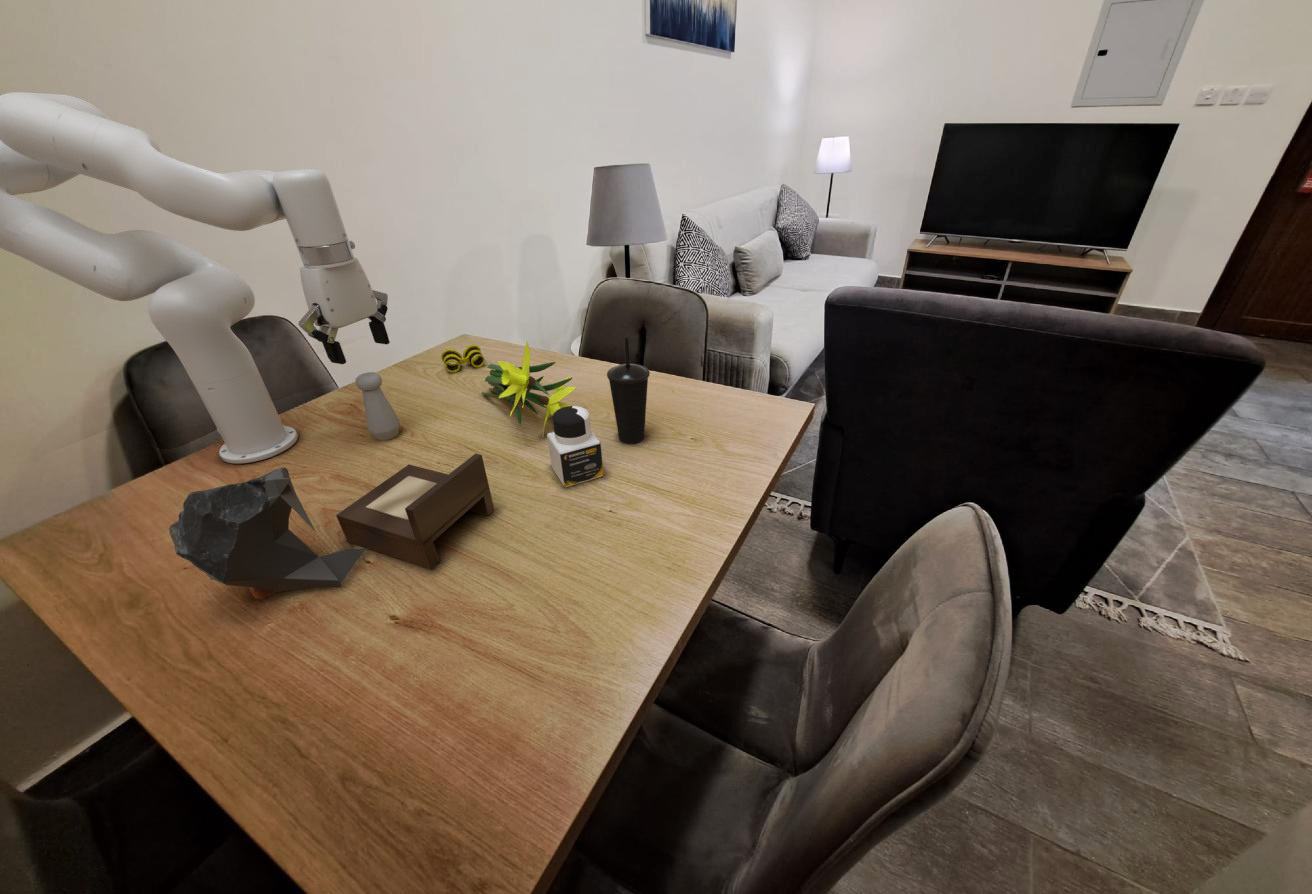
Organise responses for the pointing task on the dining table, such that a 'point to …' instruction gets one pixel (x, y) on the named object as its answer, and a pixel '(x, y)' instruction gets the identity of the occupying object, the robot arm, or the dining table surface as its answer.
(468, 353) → the opera glasses
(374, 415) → the salt shaker
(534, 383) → the daffodil flowers
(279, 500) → the dark grey irregular lump
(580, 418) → the medicine bottle
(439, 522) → the dark wooden box
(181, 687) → the dining table surface
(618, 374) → the drinking cup
